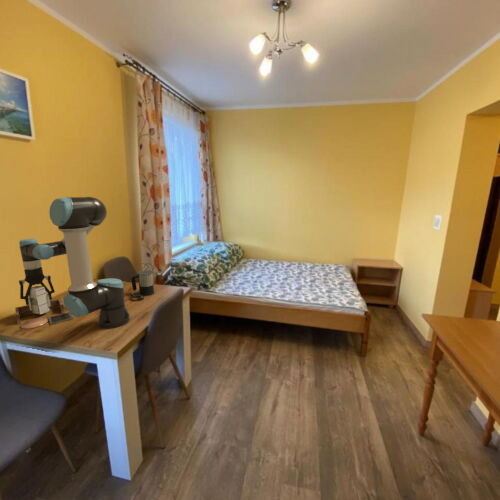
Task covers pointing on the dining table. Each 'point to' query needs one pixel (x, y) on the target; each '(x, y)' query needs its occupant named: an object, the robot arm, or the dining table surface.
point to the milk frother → (143, 284)
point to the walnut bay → (26, 310)
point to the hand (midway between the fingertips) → (40, 307)
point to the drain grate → (60, 318)
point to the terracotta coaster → (34, 323)
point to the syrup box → (39, 300)
